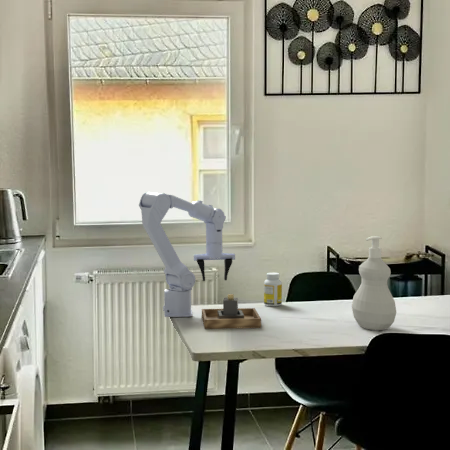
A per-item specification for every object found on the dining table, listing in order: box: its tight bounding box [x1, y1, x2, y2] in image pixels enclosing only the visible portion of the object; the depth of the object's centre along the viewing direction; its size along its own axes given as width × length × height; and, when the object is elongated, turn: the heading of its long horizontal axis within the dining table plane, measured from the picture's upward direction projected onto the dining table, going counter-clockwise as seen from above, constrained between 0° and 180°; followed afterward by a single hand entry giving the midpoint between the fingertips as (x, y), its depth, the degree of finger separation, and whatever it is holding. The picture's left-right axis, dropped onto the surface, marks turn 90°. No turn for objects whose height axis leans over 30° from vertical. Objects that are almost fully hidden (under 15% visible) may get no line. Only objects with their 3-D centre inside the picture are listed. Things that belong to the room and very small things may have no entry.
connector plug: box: [222, 293, 239, 315], centre depth 259 cm, size 4×4×8 cm
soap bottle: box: [351, 235, 397, 331], centre depth 252 cm, size 17×12×29 cm
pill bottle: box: [263, 271, 283, 307], centre depth 287 cm, size 6×6×12 cm
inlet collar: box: [217, 310, 244, 319], centre depth 259 cm, size 8×8×2 cm
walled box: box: [201, 307, 262, 330], centre depth 259 cm, size 18×16×3 cm
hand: (214, 280), depth 279 cm, fingers open, 7 cm apart
